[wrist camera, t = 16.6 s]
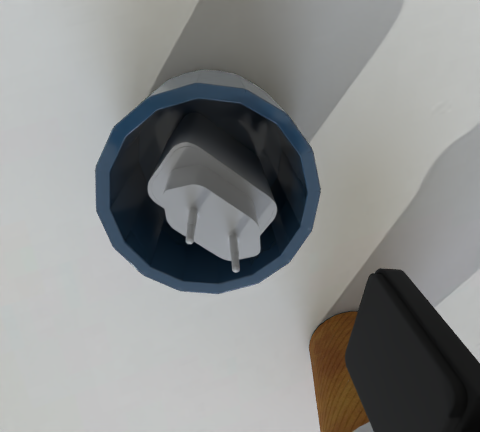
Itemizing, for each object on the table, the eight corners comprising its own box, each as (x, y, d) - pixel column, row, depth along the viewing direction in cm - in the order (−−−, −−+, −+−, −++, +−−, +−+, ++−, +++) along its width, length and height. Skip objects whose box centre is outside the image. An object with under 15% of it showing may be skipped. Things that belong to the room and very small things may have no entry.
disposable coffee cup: (301, 398, 34) (344, 573, 23) (276, 311, 30) (312, 470, 19) (413, 371, 33) (511, 536, 22) (402, 279, 29) (514, 423, 18)
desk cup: (133, 59, 22) (92, 69, 15) (301, 81, 23) (341, 100, 16) (130, 216, 26) (97, 285, 19) (274, 228, 27) (297, 299, 20)
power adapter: (234, 200, 25) (250, 326, 14) (161, 150, 23) (114, 248, 12) (265, 161, 24) (307, 264, 13) (190, 106, 22) (168, 171, 12)
